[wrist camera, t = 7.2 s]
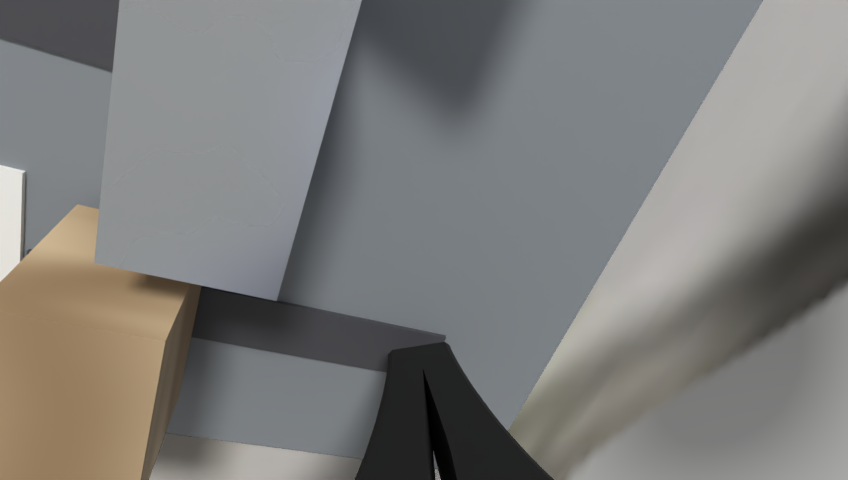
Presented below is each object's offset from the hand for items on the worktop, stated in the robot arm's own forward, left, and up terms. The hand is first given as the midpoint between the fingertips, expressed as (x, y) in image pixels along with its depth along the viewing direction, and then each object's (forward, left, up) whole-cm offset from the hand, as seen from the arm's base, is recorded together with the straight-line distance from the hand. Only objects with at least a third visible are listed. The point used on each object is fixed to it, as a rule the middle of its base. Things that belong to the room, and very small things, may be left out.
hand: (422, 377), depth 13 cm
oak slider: (+6, 0, 0) cm, 6 cm away
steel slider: (+5, -6, -1) cm, 7 cm away
